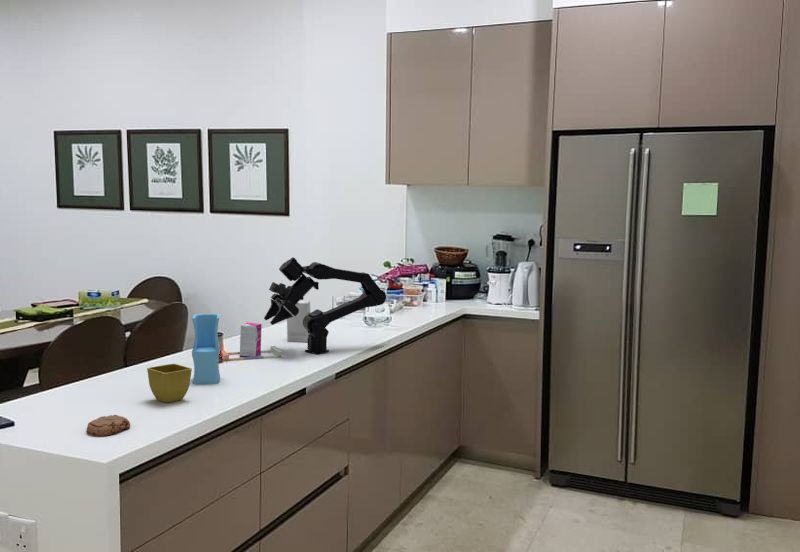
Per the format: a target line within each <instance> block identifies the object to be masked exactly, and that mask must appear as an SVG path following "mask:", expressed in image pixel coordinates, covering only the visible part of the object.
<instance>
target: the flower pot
mask: <svg viewBox="0 0 800 552" xmlns="http://www.w3.org/2000/svg"><path fill="white" fill-rule="evenodd" d="M146 368H147V369H146V371H147V376H148V377H147V378H148V384H149V387H150V391H151V393H152V394H153V396H154V397H155V399H156V400H158V401H160V402H163V403H168V404H169V403H172V402H177V401H181V400H183V399H184V398H185V396H186V394H187V393H188V390H189V387H190V385H191V377H192V367H188V366H185V365H181V364H178V363H169V364H161V365H155V366H151V367H146Z"/></svg>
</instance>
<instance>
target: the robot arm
mask: <svg viewBox="0 0 800 552" xmlns="http://www.w3.org/2000/svg"><path fill="white" fill-rule="evenodd" d="M278 270H279V271H280V272H281V274H282V275H283V276H284V277H285V278H286V279H288V281H289V282H292V281H293V282H294V283H293V284H292V285H288V286H286V284H284V283H282V282H280V283H276V282H274V281H272V282H271V284H270V287H269V289H268V290H269V291H270V292H272V293H273V294H272V295H271V297H270V307H269V309H268V310H267V312H266V314H265V315H264V317H263V319H264V320H265V321H268V320H270V319H271V321H270V324H271V325H275V324H278V323H280V322H283V321H285V320H287V319H288V318H291V317H293V316H296V315H297V314H298V313H299V309H298V308H297V307H296V306H295V305H296V304H297V303H298V302H299V301H304V299H305V298H304V297H305V296H306V295H307V294H308V293H309V291H311V289H312V288H313V289H314V290H317V291H318V290H320V287H319V281H320V280H342V281H348V282H353V283H360V286H361V288H362V290H363V291H364V292H363V293H362V294H360V295H359V296H358V297H357V298H354V299H352V300H349V301H347V302H345V303H342V304H340V305H337V306H335V307H333V308H331V309H328V310H325V311H322V310H320V309H315V310H313V311H310V313H307V314H308V315H306V316H305V317H304V319H303V326H304V328H305V329H307V331H308V333H309V334H308V342H307V349H304V352H305V353H306V352H307V353H311V354H315V355H320V354H323V353H324V354H325V353H328V352H330V349H327V343H328V341H327V338H328V335H329V333H330V331H329V330H328V329H327V327H328V326H329V324H331V323H332V322H334V321H337V320H339V319H341V318H344V317H346V316H349V315H351V314H352V313H353V314H354V313H355V312H358V311H361V310H362V309H365V308H372V307H373V308H374V307H377V306H382V305H384V303H386V300H387V294H386V292H385V291H384V290H383V289H381V288H380V287H379V285H378V284H377V282H375V281H374V278H372V276H371V275H370V274H369V273H367V272H359V271H354V270H353V271H352V270H346V269H340V268H334V267H332V266H329V265H326V264H325V263H324V264H323V263H320V262H317V261H316V262H311V263H310V264H309V265H305V266H302V265H301V263H299V262H298V260H297V259H296V257H291V258H290V259H288V260H286V261H285V262H283V263H282V264H281V265H280V267H279V268H278ZM305 274H307V275H308V276H306V275H305ZM314 279H316V280H319V281H315V280H314ZM292 315H293V316H292Z"/></svg>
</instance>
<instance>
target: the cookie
mask: <svg viewBox="0 0 800 552" xmlns="http://www.w3.org/2000/svg"><path fill="white" fill-rule="evenodd" d="M130 428H131V422H130V420H128V418H127V417H125V416H121V415H117V414H114V415H108V416H105V415H104V416H100V417H98V418H96V419H93V420H91V421H90V422H88V423H87V427H86V434H87V435H89V436H91V437H98V438H99V437H107V436H110V435H114V434H117V433H120V432H121V431H123V430H124V429H125V430H128V429H130Z"/></svg>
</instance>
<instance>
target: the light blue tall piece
mask: <svg viewBox="0 0 800 552" xmlns="http://www.w3.org/2000/svg"><path fill="white" fill-rule="evenodd" d="M220 316H221V314H220V313H195V314H193V316H192V317H191V319H192V325H193V329H194V341H193V345H192V346H193V347H192V350H191V356H192V361H193V368H194V369H193V371H194V372H193V373H194V374H193V378H192V384H194V385H210V384H211V385H216V384H219V383H220V381H221V375H220V367H219V363H220V362H219V361H220V355H219V354H220V349H221V344H220V340H219V334H218V329H219V327H218V326H219V321H220Z"/></svg>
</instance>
